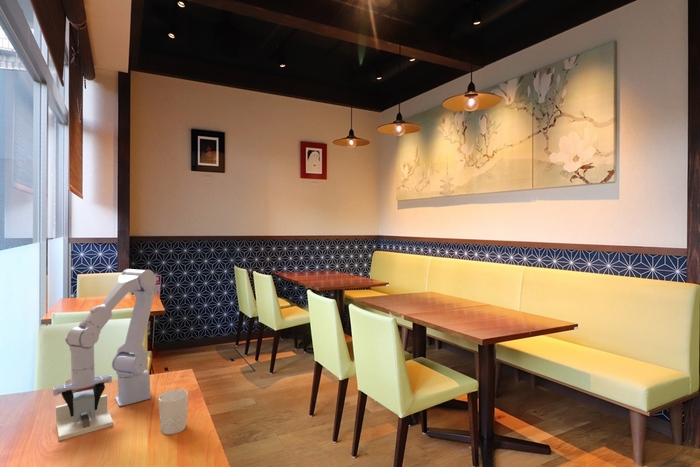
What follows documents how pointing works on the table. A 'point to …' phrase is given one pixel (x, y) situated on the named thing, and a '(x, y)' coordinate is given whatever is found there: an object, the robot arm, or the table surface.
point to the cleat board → (77, 427)
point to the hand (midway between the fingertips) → (83, 411)
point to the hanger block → (84, 403)
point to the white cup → (173, 411)
